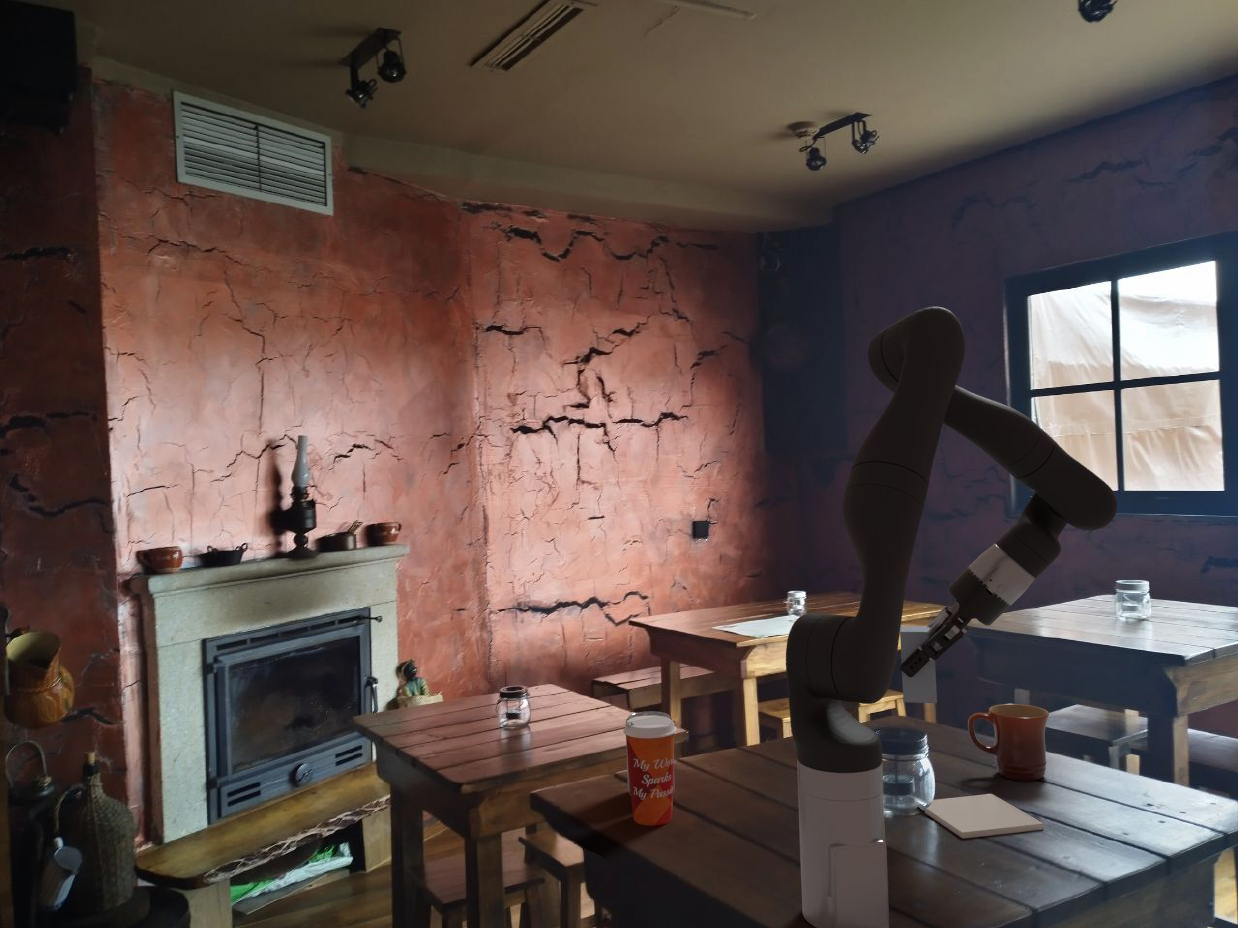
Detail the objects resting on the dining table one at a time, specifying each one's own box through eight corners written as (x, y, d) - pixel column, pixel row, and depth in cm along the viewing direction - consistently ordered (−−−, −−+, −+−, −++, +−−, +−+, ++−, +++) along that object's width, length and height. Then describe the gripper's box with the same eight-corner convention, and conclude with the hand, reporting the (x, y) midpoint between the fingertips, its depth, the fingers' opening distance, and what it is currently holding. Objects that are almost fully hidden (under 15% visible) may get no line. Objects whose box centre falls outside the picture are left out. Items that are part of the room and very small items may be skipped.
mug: (1046, 768, 149) (1044, 704, 149) (1055, 786, 141) (1053, 719, 141) (967, 763, 152) (965, 701, 153) (971, 781, 144) (969, 715, 144)
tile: (1043, 829, 124) (1043, 823, 124) (962, 838, 122) (962, 832, 122) (991, 799, 136) (991, 793, 136) (917, 806, 134) (916, 801, 134)
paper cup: (635, 831, 128) (631, 730, 128) (619, 812, 135) (616, 717, 135) (688, 824, 130) (684, 724, 130) (669, 806, 137) (666, 712, 138)
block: (937, 703, 129) (933, 631, 129) (903, 702, 130) (900, 631, 130) (936, 694, 133) (933, 626, 133) (903, 694, 135) (900, 625, 135)
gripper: (967, 559, 136) (886, 640, 140) (972, 571, 123) (883, 660, 126) (1007, 595, 135) (924, 675, 138) (1017, 611, 121) (925, 700, 125)
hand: (905, 668), depth 132 cm, fingers closed on block, 4 cm apart
